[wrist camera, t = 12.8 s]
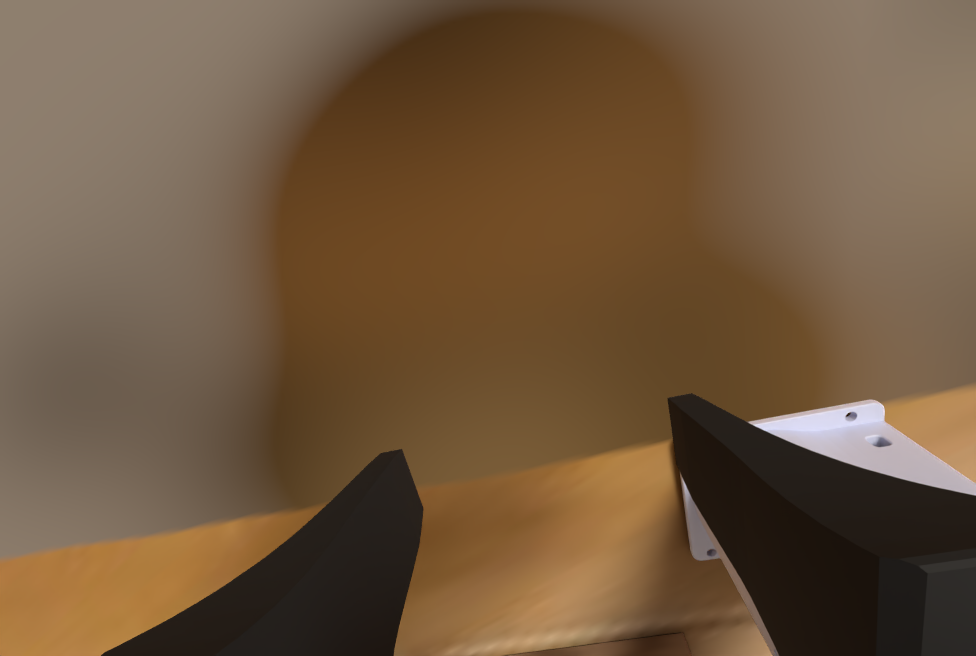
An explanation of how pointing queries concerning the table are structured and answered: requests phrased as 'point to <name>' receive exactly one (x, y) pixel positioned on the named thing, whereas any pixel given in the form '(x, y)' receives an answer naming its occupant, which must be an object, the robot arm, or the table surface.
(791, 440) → the robot arm
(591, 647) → the pin board
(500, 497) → the table surface
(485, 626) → the table surface
